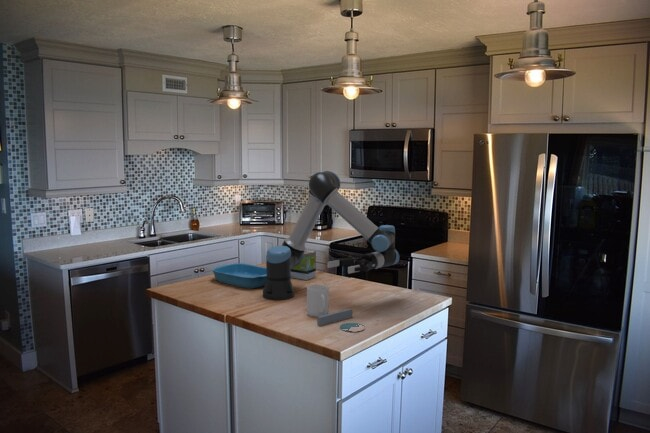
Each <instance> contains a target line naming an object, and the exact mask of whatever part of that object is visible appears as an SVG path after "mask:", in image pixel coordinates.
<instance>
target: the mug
mask: <svg viewBox="0 0 650 433" xmlns="http://www.w3.org/2000/svg"><path fill="white" fill-rule="evenodd" d="M329 290H330V288H329V286H327V285H323V284H312V285H307V287H306V314H307V315H308V316H309V317H312V316H313V317H312V318H317V317H319V316H322V315H326V314H329V298H330V297H329V296H330V294H329V292H330V291H329Z"/></svg>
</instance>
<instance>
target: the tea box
mask: <svg viewBox="0 0 650 433" xmlns="http://www.w3.org/2000/svg"><path fill="white" fill-rule="evenodd" d="M316 252H317V251H315V250H308V249H305V251H304V253H303V254H304V255H303V259H302V261H301V262H300V264H299V265H297V266H296V267H293V268H292V269H291V278H292V279H298V280H303V281H304V280H305V281H307V280H311V279H313V278H316V276H317V272H316V271H317V269H316V268H317V255H316V254H317V253H316Z"/></svg>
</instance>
